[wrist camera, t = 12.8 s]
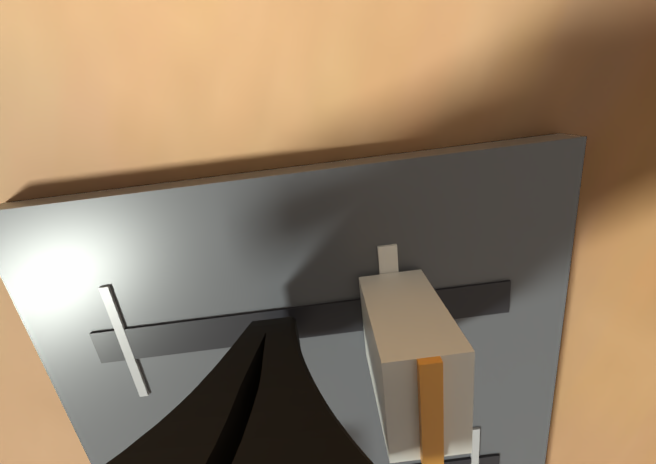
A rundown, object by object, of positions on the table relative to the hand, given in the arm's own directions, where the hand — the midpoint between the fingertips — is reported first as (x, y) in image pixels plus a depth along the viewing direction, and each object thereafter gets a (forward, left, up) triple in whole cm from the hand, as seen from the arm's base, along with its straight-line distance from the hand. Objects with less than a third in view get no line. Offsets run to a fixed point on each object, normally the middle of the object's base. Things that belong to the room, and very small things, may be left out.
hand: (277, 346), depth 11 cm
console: (-4, -1, -2) cm, 5 cm away
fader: (0, -4, -1) cm, 4 cm away
